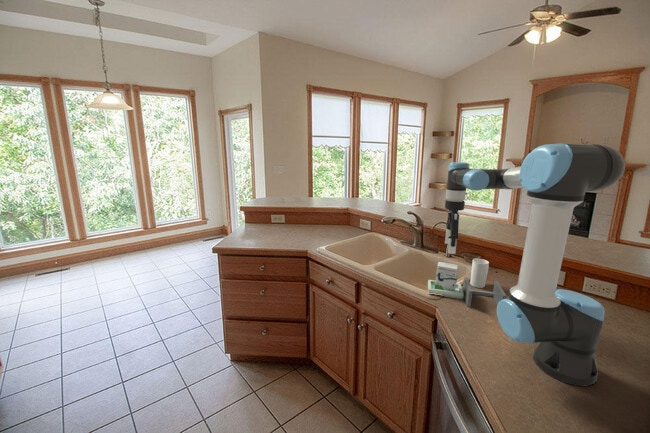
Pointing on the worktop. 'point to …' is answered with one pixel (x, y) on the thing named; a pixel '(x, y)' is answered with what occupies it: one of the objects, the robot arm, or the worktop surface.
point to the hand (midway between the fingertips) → (449, 248)
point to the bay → (483, 292)
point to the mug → (479, 272)
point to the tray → (451, 294)
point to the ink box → (446, 276)
